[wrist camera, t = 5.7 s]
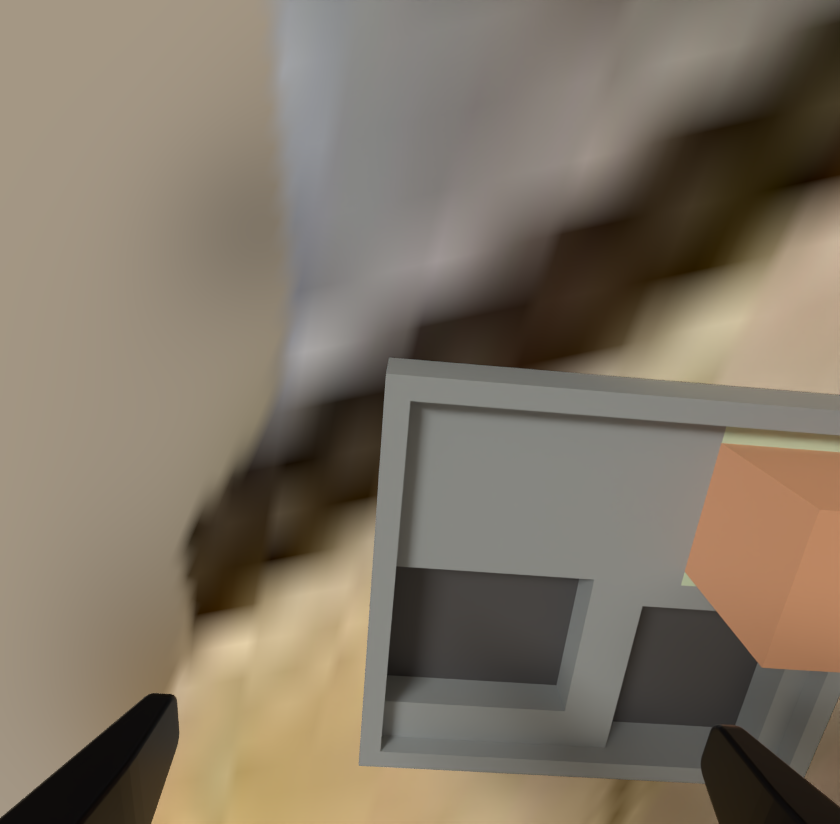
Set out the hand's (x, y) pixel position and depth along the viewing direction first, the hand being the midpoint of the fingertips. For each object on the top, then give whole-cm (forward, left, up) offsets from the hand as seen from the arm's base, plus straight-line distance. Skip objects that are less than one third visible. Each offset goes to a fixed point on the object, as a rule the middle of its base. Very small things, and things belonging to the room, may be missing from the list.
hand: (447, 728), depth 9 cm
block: (-13, 0, -10) cm, 16 cm away
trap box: (-7, +4, -11) cm, 14 cm away
